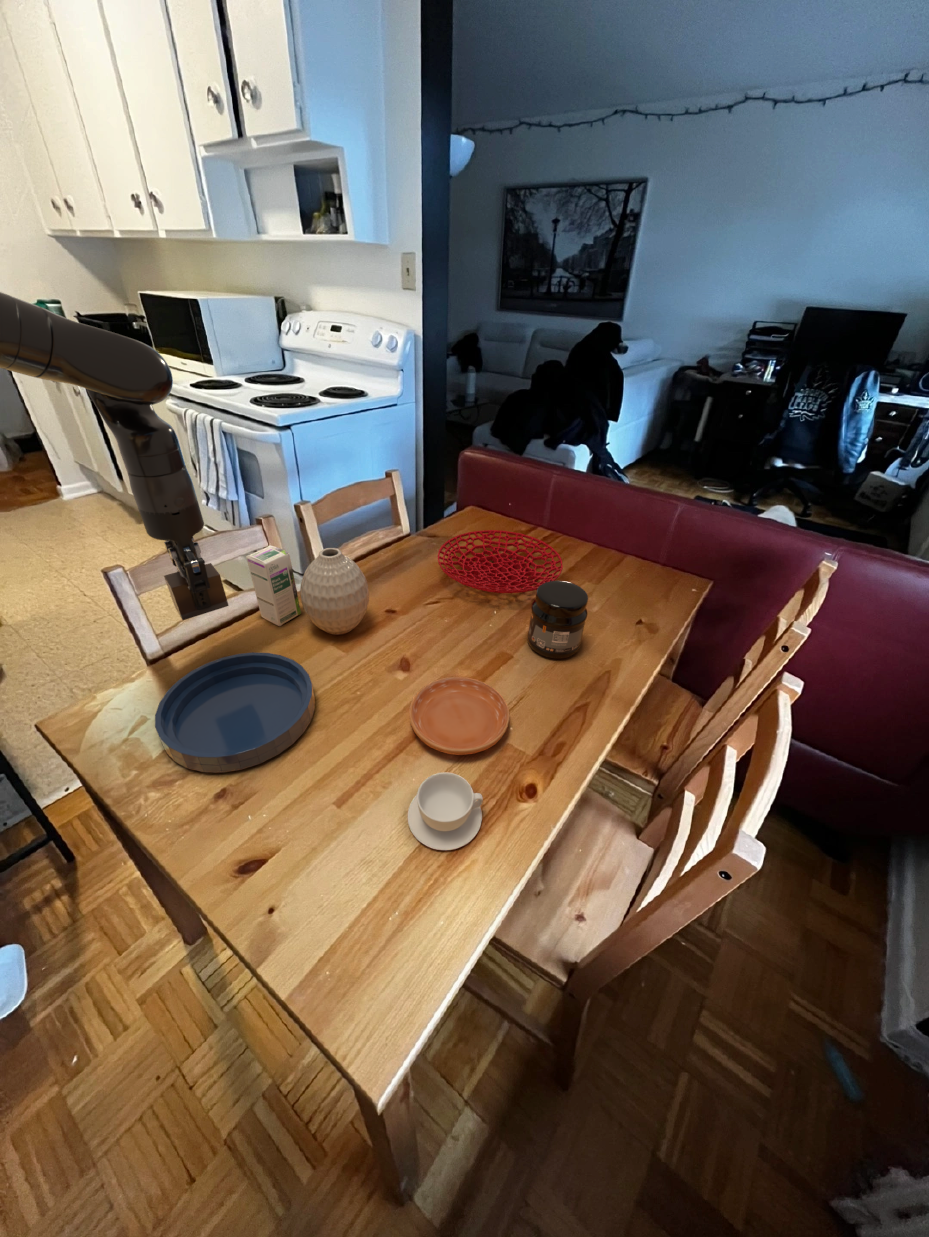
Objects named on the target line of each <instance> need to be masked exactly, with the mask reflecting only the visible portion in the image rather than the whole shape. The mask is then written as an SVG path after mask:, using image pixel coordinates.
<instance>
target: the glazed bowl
mask: <svg viewBox="0 0 929 1237" xmlns="http://www.w3.org/2000/svg"><path fill="white" fill-rule="evenodd" d="M315 699H316V698H315V693H314V687H313V682H312V680H311V677H310V674H309V673H308V671H307V670H305V668H304V667H303V665H301V664H300V663H299V662H297V661H296V660H294V659H293V658H292V659H291V658H289V657H287V656H284V655H281V654H276V653H271V652H255V651H254V652H244V653H236V654H232V655H228V656H227V655H226V656H223V657H220V658H218V659H217V658H216V659H215V660H212V661H209V662H206V663H204V664H202V665H201V666H198V667H197V668H195V669H192V670H190V671H189V672H187V674H185V675H184V676H182V677H181V678H180V679H178V680H177V681H176V682H174V684H173V685H172V686H171V687H170V688H169V689H168V690H167V691H166V692H165V694H164V695H163V697H162V698H161V700H160V701H159V703H158V706H157V708H156V711H155V714H154V727H155V731H156V733H157V735H158V737H159V740H160V742H161V744H162V746H163V749H164V751H165V753H166V754H167V755H168V756H169V758H171V759H172V761H174V762H175V763H177V764H179V765H180V766H182V767H184V768H186V769H188V770H193V771H196V772H197V771H198V772H201V773H228V772H235V771H242V770H246V769H248V768H251V767H254V766H257V765H260V764H262V763H264V762H267V761H269V760H271V759H273V758H274V757H277V756H279V755H280V754H281V753H283V752H285V751H286V750H287V749H289V748H290V747H291V746H292V745H294V743H295V742H296V741H297V740H299V739H300V737H301V736H302V735H303V734H304V733H305V732H306V730H307V728H308V726H309V725H310V723H311V722H312V719H313V716H314V712H315V711H316V710H315V708H316V706H315V705H316V704H315V703H316V700H315Z"/></svg>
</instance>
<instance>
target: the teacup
mask: <svg viewBox="0 0 929 1237" xmlns="http://www.w3.org/2000/svg"><path fill="white" fill-rule="evenodd" d="M483 803H484V797H483V794H482V793H480V792H474V790H473V788H472V785H471V784H470V783H469V782H468V780H467V779H466V778H464V777H463V776H461V775H459V774H457V773H453V772H450V771H449V772H446V771H444V772H437V773H434V774H431V775H429V776H428V777H427V778H425V779H423V781H422V782H421V783H420V785H419V786H418V789H417V792H416V794H415V796H414V797H413V799H412V800H411V801H410V804H409V806H408V809H407V825H408V827H409V830H410V831H411V834H412V835H413V836H414V837H415V839H416V840H417V841H419V842H420V843H421V844H422V845H424V846H426V847H427V848H431V849H433V850H438V851H451V850H456V849H459V848H461V847H464V846H466V845H467V844H469V843H470V842H471V841H472V840H473V839H474V838H475V837H476V835H477V834H478V832H479V830H480V828H481V825H482V822H483V821H482V820H483V812H482V808H481V806H482V805H483Z"/></svg>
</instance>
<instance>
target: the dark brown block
mask: <svg viewBox="0 0 929 1237" xmlns="http://www.w3.org/2000/svg"><path fill="white" fill-rule="evenodd" d="M205 567H206V572H207V576H208V580H209V583H210V589H207V591H208V594H209V598H210V601H211V604H212V605H211V607H209V608H206V609H203V610H197V608H196V607H195V604H194V601H193V598H192V595H191V592H190V590H189V589H188V585H187V582H186V579H185V578H183V577H182V576H181V575H180V574H179V572H177V571H175V572H171V573H168V574H165V575H163V578H164V581H165V584H166V586H167V589H168V592H169V595H170V597H171V600H172V603H173V606H174V608H175V610H176V611H177V614H178V615H179V617H180V619H181V620H182V621H186V620H189V619H192V618H196V617H198V616H201V615H204V614H207V613H211V612H214V611H217V610H220V609H223V608H227V607H229V602H228V601H229V600H228V598H227V595H226V591H225V588H224V584H223V581H222V577H221V574H220V573H219V571H218V570H217V569H216V567H215V566H214V565H213V564H212V562H209V563H205ZM184 571H186V570H184Z"/></svg>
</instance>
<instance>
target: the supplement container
mask: <svg viewBox="0 0 929 1237" xmlns="http://www.w3.org/2000/svg"><path fill="white" fill-rule="evenodd" d="M535 591H536V592H535V597H534V599H533V601H532V603H531V607H530V611H531V612H530V618H529V624H528V625H529V626H528V630H527V638H526V640H527V643H528V645H529V647H530V648H531V649H532V650H533V651H534V652H535V653H537V654H539V655H541V656H543V657H546V658H550V659H560V660H561V659H567V658H569V657H572V656H574V655H575V654H576V653H577V652H578V651H579V650H580V648H581V643H582V636H583V633H584V628H585V625H586V621H587V618H588V608H587V606H588V602H589V595H588V593H587V591H585V589H584V588H582V587H581V586H579V585H578V584H576V583H573V582H569V581H565V580H555V581H549V582H546V583H543V584H541V585H540V586H539V587H538V588H537V590H535Z"/></svg>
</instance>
